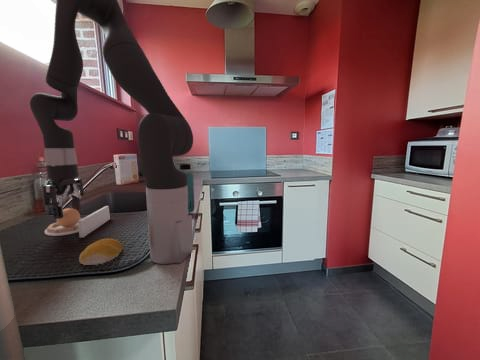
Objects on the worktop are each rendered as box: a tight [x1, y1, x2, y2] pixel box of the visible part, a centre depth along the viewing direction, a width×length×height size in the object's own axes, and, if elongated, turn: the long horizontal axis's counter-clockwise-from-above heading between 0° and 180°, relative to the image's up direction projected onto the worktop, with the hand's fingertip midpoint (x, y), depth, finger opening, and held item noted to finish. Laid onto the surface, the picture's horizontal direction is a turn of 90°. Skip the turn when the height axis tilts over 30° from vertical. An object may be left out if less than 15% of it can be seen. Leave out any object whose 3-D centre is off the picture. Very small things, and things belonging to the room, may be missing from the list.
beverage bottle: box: [179, 163, 195, 214], centre depth 82 cm, size 6×7×20 cm
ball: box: [55, 207, 81, 227], centre depth 69 cm, size 6×6×6 cm
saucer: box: [44, 217, 84, 237], centre depth 69 cm, size 12×12×2 cm
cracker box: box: [113, 153, 140, 186], centre depth 151 cm, size 14×6×21 cm, turn 152°
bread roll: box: [78, 238, 123, 266], centre depth 51 cm, size 8×9×4 cm
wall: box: [78, 205, 111, 238], centre depth 70 cm, size 16×1×5 cm, turn 7°
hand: (68, 214), depth 68 cm, fingers open, 8 cm apart
